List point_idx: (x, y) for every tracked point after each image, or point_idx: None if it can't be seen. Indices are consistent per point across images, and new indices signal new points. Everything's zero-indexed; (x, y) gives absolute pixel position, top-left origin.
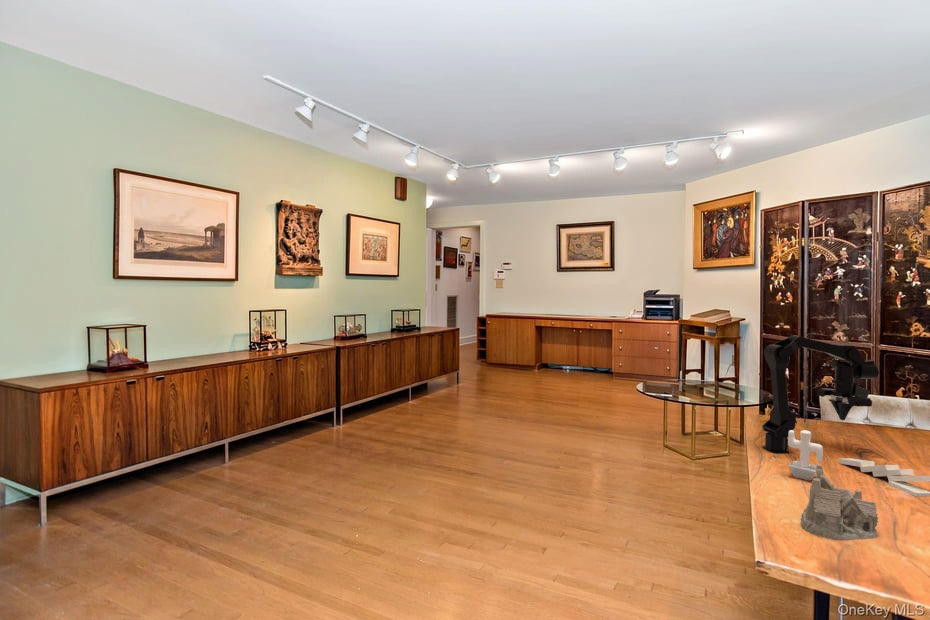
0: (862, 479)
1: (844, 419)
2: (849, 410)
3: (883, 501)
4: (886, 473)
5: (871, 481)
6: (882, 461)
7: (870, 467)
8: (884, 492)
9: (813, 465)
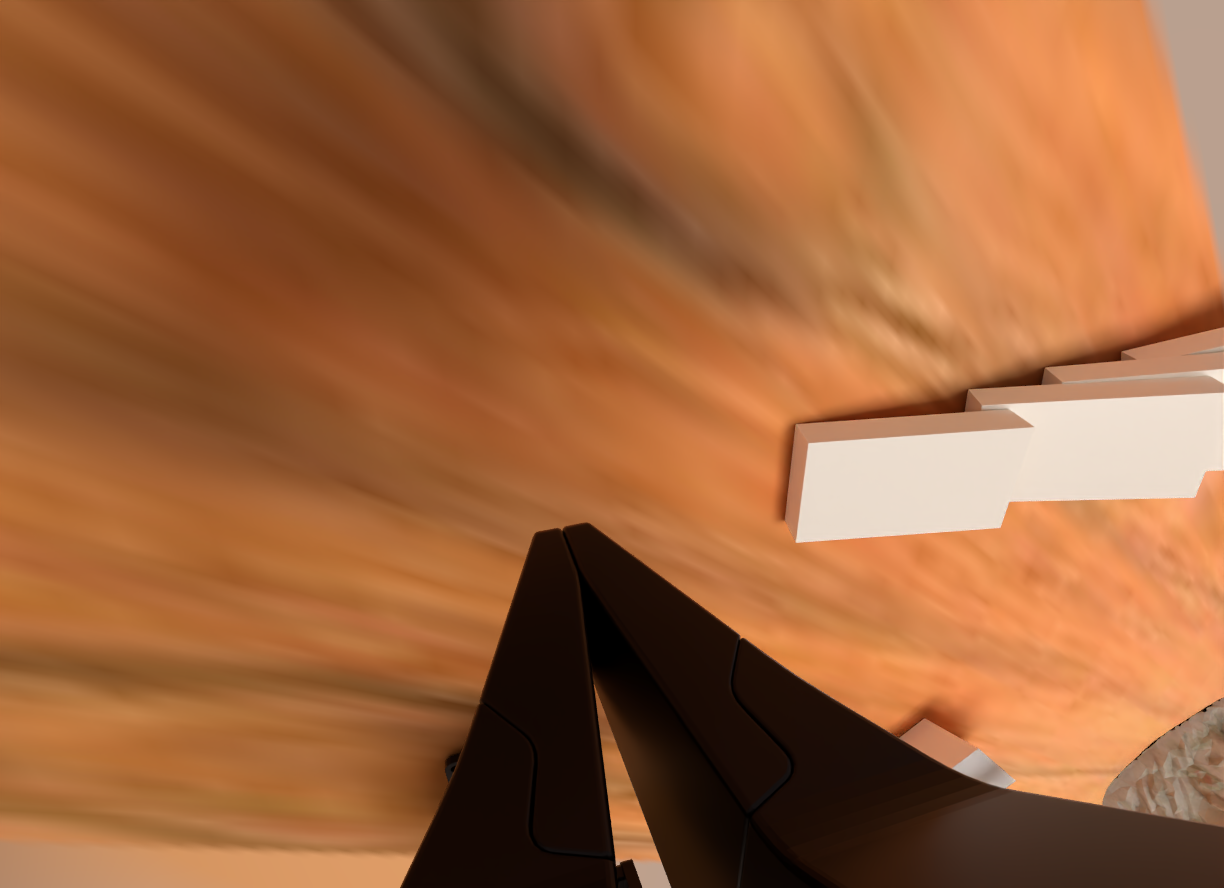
0: (1016, 535)
1: (596, 537)
2: (799, 681)
3: (1177, 585)
4: None
5: (1050, 507)
6: (804, 76)
7: (1051, 495)
8: (1143, 530)
9: (959, 769)
